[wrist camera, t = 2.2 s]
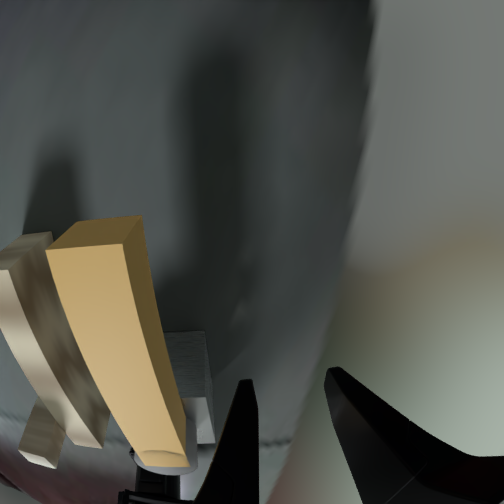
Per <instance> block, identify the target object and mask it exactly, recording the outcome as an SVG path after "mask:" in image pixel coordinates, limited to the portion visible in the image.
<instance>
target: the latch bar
mask: <svg viewBox="0 0 504 504" xmlns="http://www.w3.org/2000/svg"><path fill="white" fill-rule="evenodd" d="M45 251H46V255H47V258H48V262H49V265H50V269H51V272H52V276H53V279H54V282H55V285H56V288H57V291H58V294H59V297H60V300H61V303H62V306H63V309H64V311H65V314H66V317H67V319H68V322H69V325H70V327H71V330H72V332H73V335H74V337H75V339H76V342H77V344H78V347H79V349H80V351H81V353H82V356H83V358H84V360H85V362H86V364H87V367H88V369H89V371H90V373H91V375H92V377H93V379H94V381H95V383H96V385H97V387H98V389H99V391H100V393H101V395H102V397H103V398H104V400H105V402H106V404H107V406H108V408H109V409H110V411H111V413H112V415H113V416H114V418H115V420H116V421H117V423H118V425H119V426H120V428H121V430H122V431H123V433H124V435H125V436H126V438H127V439H128V441H129V443H130V444H131V446H132V447H133V449H134V450H135V455H134V460H135V462H136V463H137V464H138V465H139V466H141V467H142V468H144V469H146V470H148V471H151V472H154V473H158V474H164V475H184V474H188V473H191V472H193V471H195V470H196V469H197V467H198V457H197V427H196V425H195V423H194V422H193V421H192V420H190V419H189V418H187V417H186V416H185V412H184V409H183V406H182V403H181V399H180V396H179V392H178V389H177V385H176V382H175V378H174V375H173V371H172V367H171V363H170V359H169V356H168V352H167V347H166V343H165V339H164V335H163V331H162V326H161V322H160V317H159V313H158V308H157V303H156V298H155V293H154V288H153V283H152V277H151V272H150V266H149V260H148V254H147V248H146V242H145V235H144V228H143V221H142V215H136V216H125V217H115V218H105V219H96V220H86V221H78V222H76V223H75V224H74V225H72V226H71V227H70V228H69V229H68V230H67V231H66V232H65V233H63V234H62V235H61V236H60V237H59V238H58V239H57V240H56V241H55V242H53V243H52V244H51V245H50V246H49V247H48V248H47V249H46V250H45Z"/></svg>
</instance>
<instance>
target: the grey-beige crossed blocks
mask: <svg viewBox="0 0 504 504" xmlns="http://www.w3.org/2000/svg"><path fill="white" fill-rule="evenodd" d="M53 242H54V241H53V236H52V232H51V231H49V232H41V233H33V234H25V235H21V236H20V237H18V238H17V239H16V240H14V241H13V242H12V243H11V244H9V245H8V246H7V247H6V248H4V249H3V250H2V251H1V252H0V328H1V331H2V333H3V335H4V337H5V339H6V341H7V343H8V345H9V346H10V348H11V350H12V352H13V354H14V356H15V358H16V359H17V361H18V363H19V365H20V367H21V368H22V370H23V372H24V373H25V375H26V377H27V378H28V380H29V382H30V383H31V385H32V386H33V388H34V389H35V391H36V393H37V394H38V398H37V400H36V402H35V405H34V407H33V410H32V412H31V415H30V417H29V420H28V422H27V425H26V427H25V430H24V433H23V436H22V438H21V441H20V444H19V447H18V451H19V452H20V453H21V454H22V455H23V456H24V457H25V458H26V459H27V460H28V461H30V462H33V463H36V464H39V465H43V466H47V467H50V468H54V469H56V468H57V464H58V460H59V456H60V452H61V449H62V445H63V441H64V438H65V434H67V435H68V437H69V438H70V439H71V440H72V441H73V443H74V444H75V445H81V446H87V447H94V448H102V449H103V445H104V440H105V435H106V430H107V426H108V421H109V416H110V412H111V411H110V409H109V408H108V406H107V404H106V402H105V400H104V398H103V397H102V395H101V393H100V391H99V389H98V387H97V385H96V383H95V381H94V379H93V377H92V375H91V373H90V371H89V369H88V367H87V364H86V362H85V360H84V358H83V356H82V353H81V351H80V349H79V347H78V344H77V342H76V339H75V337H74V335H73V332H72V330H71V327H70V325H69V322H68V319H67V317H66V314H65V311H64V309H63V306H62V303H61V300H60V297H59V294H58V291H57V288H56V285H55V282H54V279H53V276H52V272H51V269H50V265H49V262H48V258H47V255H46V251H45V250H46V249H47V248H48V247H49V246H50V245H51V244H52V243H53Z"/></svg>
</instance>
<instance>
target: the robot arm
mask: <svg viewBox="0 0 504 504" xmlns="http://www.w3.org/2000/svg"><path fill="white" fill-rule="evenodd" d="M324 390H325V393H326V398H327V402H328V406H329V410H330V414H331V419H332V423H333V426H334V429H335V431H336V434H337V437H338V439H339V442H340V445H341V447H342V450H343V452H344V455H345V458H346V460H347V463H348V465H349V468H350V471H351V473H352V476H353V479H354V481H355V484H356V487H357V489H358V492H359V495H360V497H361V500H362V503H363V504H504V456H487V457H478V456H472V455H469V454H466V453H464V452H462V451H460V450H458V449H456V448H454V447H452V446H451V445H448V444H447V443H445V442H443V441H441V440H439V439H438V438H436V437H434V436H433V435H431V434H429V433H428V432H426V431H425V430H423V429H422V428H420V427H419V426H417V425H416V424H415V423H413V422H412V421H409V419H408V418H406V417H405V416H404V415H402V414H401V413H400V412H398V411H397V410H396V409H394V408H393V407H392V406H390V405H389V404H388V403H386V402H385V401H384V400H382V399H381V398H380V397H378V396H377V395H376V394H374V393H373V392H372V391H370V390H369V389H368V388H366V387H365V386H364V385H363V384H361V383H360V382H359V381H358V380H356V379H355V378H354V377H352V376H351V375H350V374H349V373H347V372H346V371H344V370H343V369H342V368H341V367H332V368H328V370H327V372H326V377H325V382H324ZM129 455H130V456H131V458H132V459H133V460H134V455H135V451H130V452H129ZM134 462H135V460H134ZM135 463H136V462H135ZM136 464H137V463H136ZM129 503H130V504H259V418H258V405H257V400H256V395H255V391H254V386H253V382H252V380H251V379H244V380H240V381H239V383H238V386H237V389H236V392H235V395H234V398H233V401H232V404H231V407H230V410H229V413H228V416H227V419H226V421H225V424H224V427H223V430H222V433H221V436H220V439H219V442H218V445H217V448H216V450H215V453H214V456H213V459H212V462H211V464H210V467H209V470H208V472H207V475H206V477H205V480H204V482H203V484H202V486H201V488H200V490H199V492H198V494H197V496H196V498H195V500H180V475H164V474H158V473H154V472H151V471H148V470H146V469H144V468H142V467H141V466H139V465H138V464H137V472H136V484H135V492H133V491H129V490H127V489H125V492H124V491H123V492H119V495H118V504H129Z"/></svg>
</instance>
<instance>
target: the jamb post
mask: <svg viewBox="0 0 504 504" xmlns="http://www.w3.org/2000/svg"><path fill="white" fill-rule="evenodd" d="M163 335H164V339H165V343H166V347H167V352H168V356H169V359H170V363H171V367H172V371H173V375H174V378H175V382H176V385H177V389H178V392H179V396H180V399H181V403H182V406H183V409H184V412H185V416H186V417H187V418H189V419H190V420H192V421H193V422H194V423H195V425H196V427H197V444H205V443H216V442H215V427H214V411H213V392H212V378H211V372H210V365H209V358H208V351H207V344H206V337H205V331H187V332H164V333H163Z"/></svg>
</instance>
